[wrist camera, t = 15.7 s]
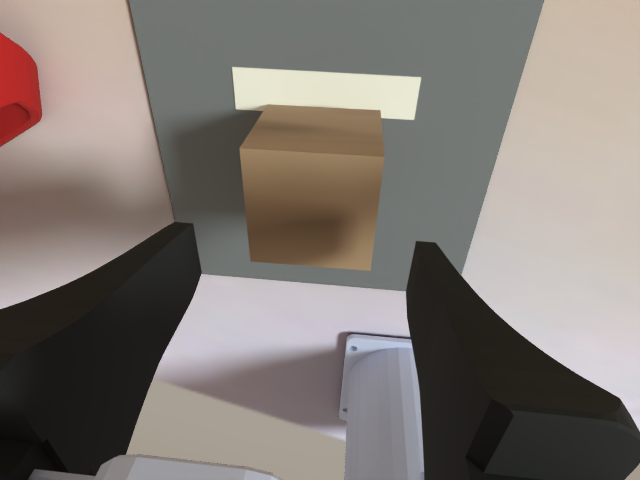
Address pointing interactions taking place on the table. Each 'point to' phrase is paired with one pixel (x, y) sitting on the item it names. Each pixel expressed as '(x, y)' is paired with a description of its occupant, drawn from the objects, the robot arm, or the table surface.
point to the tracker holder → (17, 91)
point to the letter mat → (335, 92)
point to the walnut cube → (313, 185)
